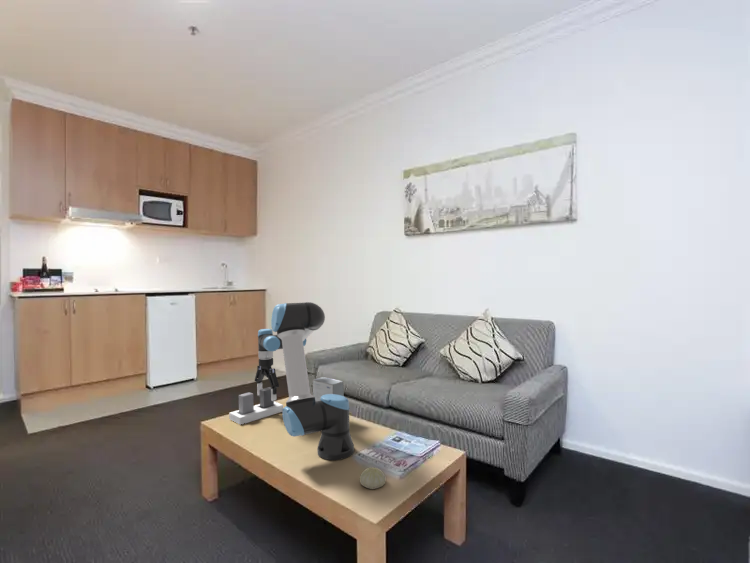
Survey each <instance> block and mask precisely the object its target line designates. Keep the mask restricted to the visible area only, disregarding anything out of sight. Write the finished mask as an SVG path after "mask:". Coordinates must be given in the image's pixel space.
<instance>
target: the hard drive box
mask: <svg viewBox="0 0 750 563" xmlns="http://www.w3.org/2000/svg"><path fill="white" fill-rule="evenodd" d="M326 394H336V395H341V396H344V381H343V380H339V379H334V378H329V377H325V376H321V377H318V378H314V379H312V395H313V396H315V401H320V398H321V396H322V395H326ZM344 397H345V396H344Z"/></svg>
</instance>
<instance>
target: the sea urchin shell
mask: <svg viewBox="0 0 750 563" xmlns="http://www.w3.org/2000/svg"><path fill="white" fill-rule="evenodd" d="M359 482H360V484H361V485H362V486H363V487H365V488H367V489H369V490H375V489H378V488H381V487H383V486H384V485H385V484H386V475H385V473H384V472H383V471H382V470H381V469H380V468H379V467H367V468H365V470H363V471H362V473H361V474H360V477H359Z"/></svg>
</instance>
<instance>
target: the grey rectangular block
mask: <svg viewBox="0 0 750 563" xmlns="http://www.w3.org/2000/svg"><path fill="white" fill-rule="evenodd" d="M271 388H272V387H271V386H269V387H264V388H263V389H260V395H259V404H260V408H262V409H265V408H268V407H271V406H274V401H275V400H274V401H271Z"/></svg>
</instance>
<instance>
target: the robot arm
mask: <svg viewBox="0 0 750 563" xmlns="http://www.w3.org/2000/svg"><path fill="white" fill-rule="evenodd" d="M325 320H326V315H325V312H324V310H323V308H322V307H321V306H320V305H318V304H317V303H314V302H308V301H307V302H291V303H290V302H289V303H288V302H284V303H278V304H276V305H275V306H274V307H273V310H272V312H271V325H270V326H271V328H260V329H259V330H258V331H257V340H258V341H257V344H258V345H257V347H258V351H257V352H258V354H257V356H258V365H257V367H256V368H257V369H256V373H255V376H254V382H256V385H257V386H256V389H257V390H256V391H257V394H256V395H257V397H260V389H264V388H263V380H264V377H266V378H267V379H268V382H269V383H270V387H271V401H277V400H278V399H277V388H279V387H280V384H279V380H278V376H277V373H276V369H275V368H272V366H274V358H273V357H274V352H276V351H278V350H282V353H283V360H284V367H285V368H284V369H285V375H286V376H285V377H286V383H287V391H288V399H287V400H286V401H285V404H286V405H285V406H283V411H282V412H281V413H282V420H283V424H284V427H285V430H286V431H287V434H288V435H290V436H291V437H300V436H302V437H303V436H304V435H310V434H314V433H318V432H321V434H320V438H319V441H318V445H317V455H318V457H320V458H321V459H324V460H329V461H338V460H344V459H347V458H349V457H351V456H352V455H353V454H354V452H355V444H354V442H353V439H352V436H351V432H350V401H349V399H348V398H347V396H341V395H336V394H326V395H322V396H321V398H320V401H315V396H313V393H311V388H310V381H309V374H308V369H307V362H306V361H307V360H306V354H305V346H306V344H307V338H308V337H309V336H310V335H311V334H312V333H313V332H314V331H317V330H319V329H321V327H322V326H323V325H324V323H325ZM273 332H274V333H276V334H274V333H273Z"/></svg>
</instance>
